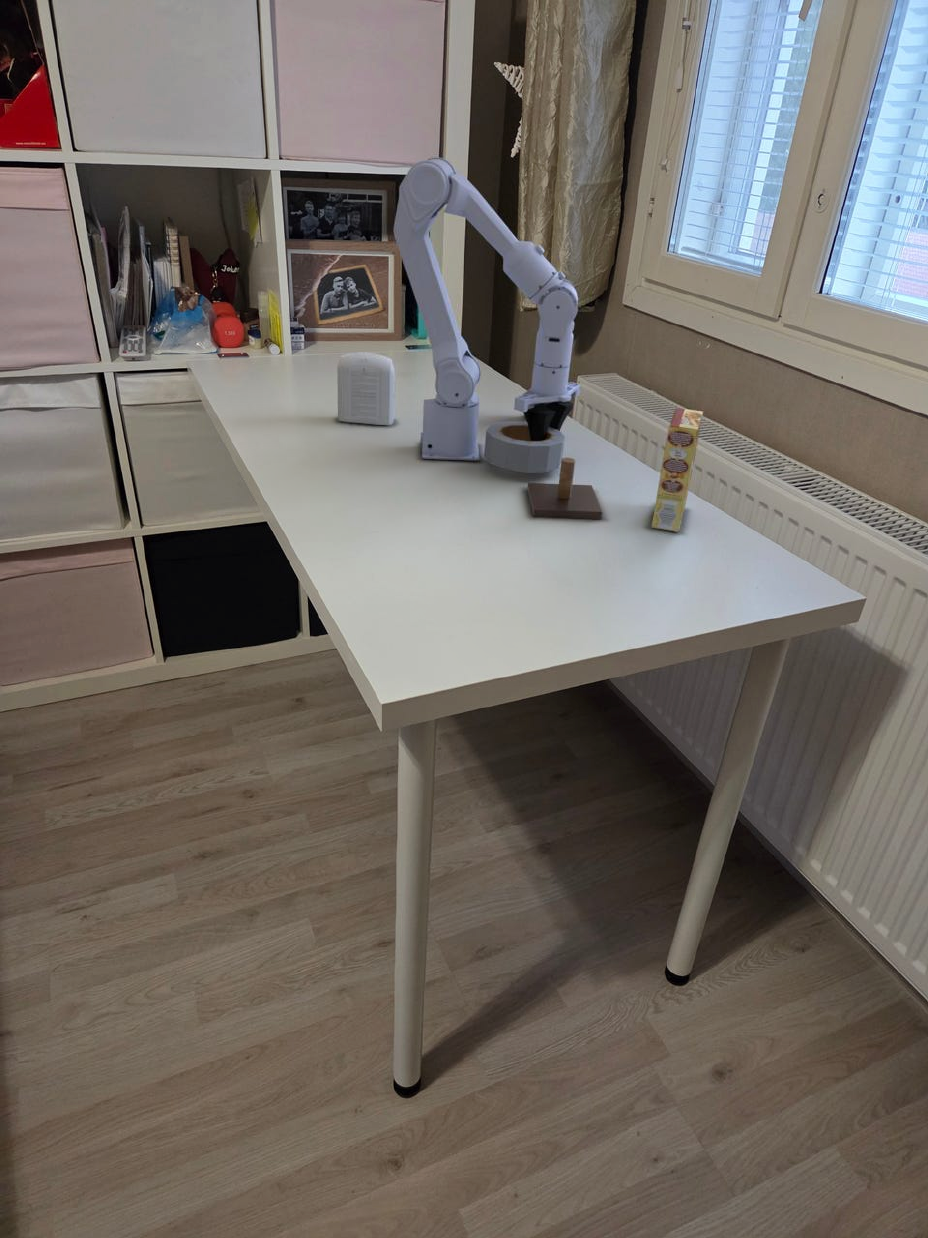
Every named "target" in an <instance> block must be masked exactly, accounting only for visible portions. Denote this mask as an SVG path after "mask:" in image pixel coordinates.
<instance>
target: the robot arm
mask: <svg viewBox="0 0 928 1238" xmlns="http://www.w3.org/2000/svg"><path fill="white" fill-rule="evenodd" d="M398 188H399V189H398V190H399V191H398V193H399V195H398V196H399V197H398V201H397V207H396V213H395V218H394V223H393V234H394V239H395V242H396V246H397V248H398V251H399V254H400V257H401V260H402V263H403V266H404V269H405V272H406V274H407V275H406V276H407V278H408V280H409V284H410V287H411V290H412V292H413V295H414V298H415V301H416V304H417V307H418V310H419V313H420V316H421V319H422V322H423V325H424V328H425V331H426V334H427V336H428V340H429V343H430V346H431V351H432V366H433V368H434V370H435V381H434V382H435V383H434V388H435V392H436V395H435V398H429V399H428V398H427V399H423V410H422V411H423V412H422V413H423V414H422V432H420V444H422V449H421V450H422V451H421V458H422V459H426V460H427V459H428V460H446V461H447V460H450V461H451V460H453V461H476V462H478V461H480V451H479V443H478V429H479V427H478V426H479V413H480V412H479V411H480V410H479V409H480V397H479V396H478V394H477V392H476V390H475V388H476V387H477V386H478V383H479V382H480V379H481V376H482V370H481V369H482V368H481V364H480V363H479V361H478V360H477V359H476V358H475V356H473V355H472V353H471V352H470V350H469V346H468V344H467V342H466V341H465V339H464V337H463V336H462V335H461V331H460V328H459V325H458V322H457V318H456V315H455V312H454V309H453V306H452V302H451V300H450V297H449V294H448V290H447V287H446V284H445V281H444V278H443V275H442V272H441V268H440V265H439V262H438V260H437V259H438V258H437V256H436V254H435V250H434V246H433V244H432V241H431V237H430V231H431V230H432V227H433V226H434V223H435V221H436V219H437V217H438V215H439V212H440V211H441V210H442V209H443V208H444V207H445V208H444V210H443V212H444V213H446V214H449V215H453V216H458V217H462V218H464V219H466V220H467V221H468V222H469V223H470V225H472V226H473V227H474V228H475V230H476V231H477V232H478V233H479V234H480V235H481V236H482V237H483V238H484V239H485V240H486V242H488V243H489V244H490V245H491V247H493V248H494V250H496V252H497V253H498V254H499V255H500V256H501V257H502V259H503V260H502V261H503V262H502V263H503V264H502V271H503V272H504V273H505V275H507V277H508V278H509V279H510V280H511V282H513V283H514V284H515V286H516V287H517V288H518V289H519V290H520V291H521V292H522V294H523V295H524V296H525V297H526V298H527V299H528V300H529V301H530V302H531V303H535V304H536V305H537V312H538V315H539V326H538V331H537V332H536V337H535V347H534V348H535V349H534V359H533V366H534V367H532V372H533V377H532V387H531V388H530V387H529V389H528V390H526V391H524V393H522V394H521V395H519V396H516V397H515V398H514V406H513V410H515V411H518V412H521V413H522V414H523V416H524V418H525V422H527V424H528V428H529V433H530V440H531V441H544V440H546V436H547V431H548V427H551V428H554V429H557V430H558V431H560V432H561V429H562V426H563V424H564V422H565V421H566V419H567V417H568V416H569V415H570V413H571V412H572V411H573V408H574V403H573V402H571V400H572V397H573V398H578V397H579V396H580V392H581V384H579V383H576V382H572V381H571V382H569V376H570V368H571V367H570V366H571V360H572V351H573V344H574V333H573V332H574V329H575V321H574V320H575V318H576V317H577V314H578V311H579V308H578V302H579V297H578V293H577V290H576V288H575V287H574V285H573V283H572V282H571V281H569V280H568V279H565V278H566V275H565V274H564V272H563V271H560V272H559V271H557V270H556V268H555V267H554V266H553V265H552V264H551V262H550V261H549V260H548V259H547V258H546V257H545V255H543V254H544V253H545V249H544V248H543V247H542V245H541V244H537V246H536V245H535V244H534V242H532V241H530V240H529V241H528V240H527V241H524V240H523V241H521V240H518V238H517V237H516V236H515V234H513V232H512V231H511V230H510V228H509V227H508V226H507V225H506V224H505V222H504V221H503V219H502V218H501V217H500V216H499V215H498V214H497V213H496V212H495V210H494V208H493V207H492V206H491V205H490V204H489V203H488V201H487V200H486V199H485V198H484V196H483V195H482V194H481V193H480V191H479V190H478V189H477V188H476V187H475V186H474V185H473V184H472V183H471V181H469V180H468V179H467V178H466V176H464V175H463V174H462V173H461V172H457V171H456V169H455V167H454V166H453V164H452V163H451V162H449V160H447V159H445V158H443V157H438V156H437V157H436V156H434V157H430V158H428V159H424V160H420V161H417V162H416V163H414V164H413V165H411V167H410V168H409V170H408V171H407V173H406V174H405V177H404V178H403V179H402V182H401V183H400V185H399V187H398Z"/></svg>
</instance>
